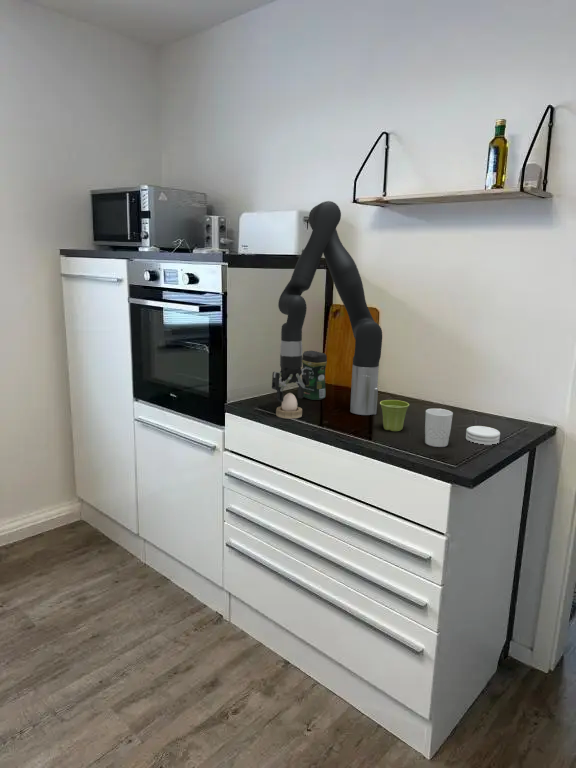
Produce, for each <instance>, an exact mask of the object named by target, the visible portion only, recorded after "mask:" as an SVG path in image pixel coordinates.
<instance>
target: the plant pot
mask: <svg viewBox="0 0 576 768" xmlns="http://www.w3.org/2000/svg"><path fill="white" fill-rule="evenodd" d="M379 405H380V407H381V408H380V409H381V412H382V424H383V429H384V430H385V431H390V432H400V431H401V430H403V427H404V425H405V424H404V423H405V422H404V421H405V418H406V413H407V411H408V408H409V407H410V403H408V402H407V401H403V400H398V399H385V400H381V401H380V402H379Z"/></svg>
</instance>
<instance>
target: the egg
mask: <svg viewBox="0 0 576 768" xmlns="http://www.w3.org/2000/svg"><path fill="white" fill-rule="evenodd" d="M281 406H282V410H283V411H290V412H292V411H296V410H297V407H298V400H297V397H296V396H295V394H293V393H292V392H288V393H286V394H285V395H283V402H281Z"/></svg>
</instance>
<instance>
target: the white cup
mask: <svg viewBox="0 0 576 768" xmlns="http://www.w3.org/2000/svg"><path fill="white" fill-rule="evenodd" d="M453 415H454V412H453V411H451V410H448V409H444V408H428V409H425V417H424V418H425V419H424V420H425V421H424V422H425V424H424V425H425V426H424V434H425V435H424V436H425V437H424V443H425V445H428V446H430V447H436V448H437V447H438V448H445V447H447V446H448V445H449V441H450V439H449V438H450V436H451V430H452V423H453Z"/></svg>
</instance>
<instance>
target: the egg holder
mask: <svg viewBox="0 0 576 768" xmlns="http://www.w3.org/2000/svg"><path fill="white" fill-rule="evenodd" d="M275 415H276V417H278V418H282V419H290V420H291V419H299V418H301V417H303V416H302V415H303V408H302V407H299V406H297V410H296V411H292V412H290V411H283V410H282V405H280V406H278V407H276V410H275Z"/></svg>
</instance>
